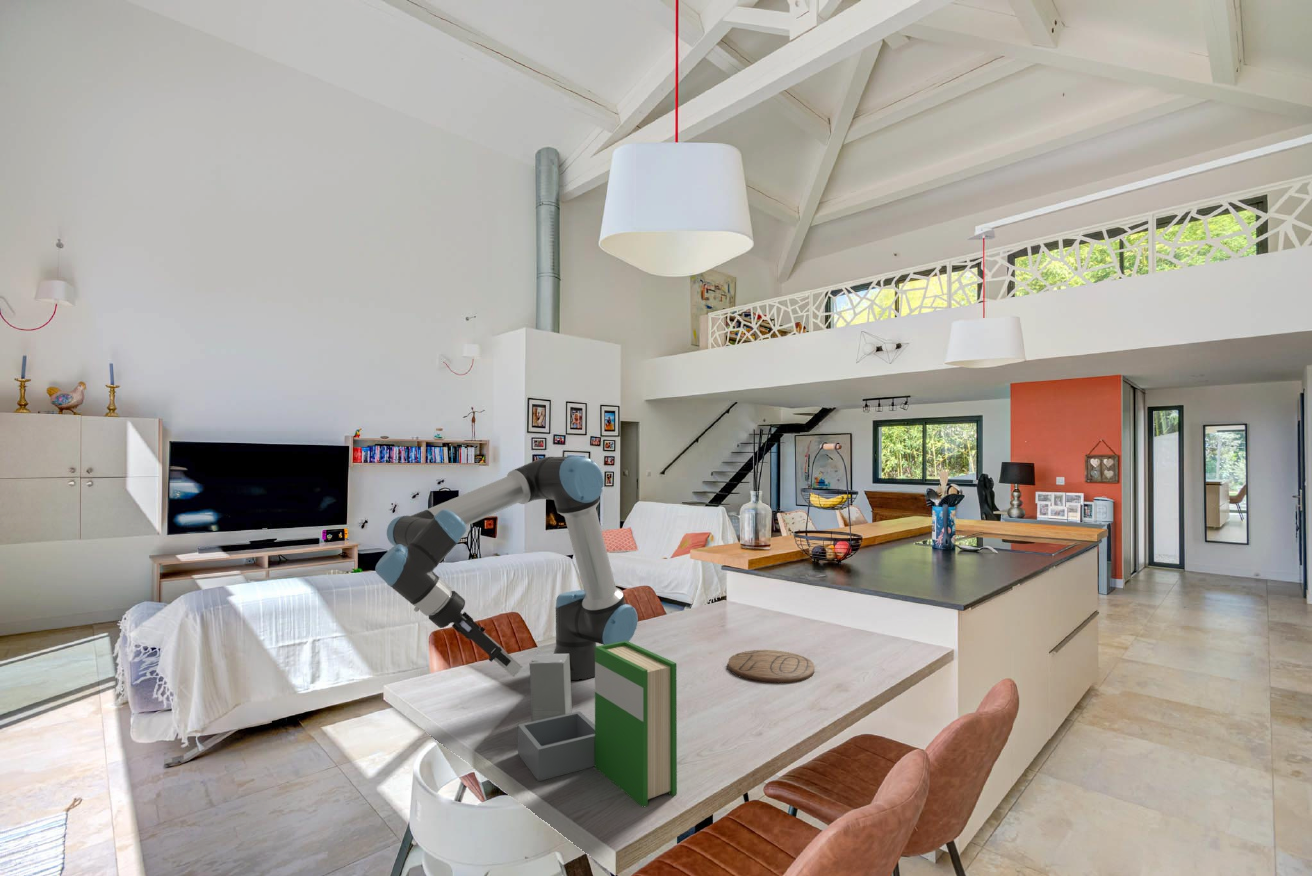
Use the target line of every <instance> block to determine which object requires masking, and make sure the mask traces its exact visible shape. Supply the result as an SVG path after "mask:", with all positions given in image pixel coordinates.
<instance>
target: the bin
mask: <svg viewBox="0 0 1312 876" xmlns="http://www.w3.org/2000/svg"><path fill="white" fill-rule="evenodd" d="M517 755H518V756H519V757H520V759H521V760H522V761H523V763H524V764H525V765H526V767H527V768H528V770H529V771H530V772H531V774H532V775H533V777H534V778H535V779H536V781H537V782H541V781H545V780H549V779H551V778H556V777H560V776H564V775H567V774H571V773H575V772H577V771H581V770H586V769H590V768H592V767H595V723H593V721H591V720H590V719H589V718H588V717H587V716H586V715H585V714H583V712H581V711H574V712H572V713H569V714H565V715H560V716H556V717H551V718H546V719H542V720H537V721H533V722H532V721H528V722H524V723H520V724H518V725H517Z"/></svg>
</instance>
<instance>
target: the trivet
mask: <svg viewBox="0 0 1312 876" xmlns="http://www.w3.org/2000/svg"><path fill="white" fill-rule="evenodd" d="M727 664H728V665H727V666H728V667H729V668H728V669H730V670H729V671H730V673H732V672H733V673H732V674H734V675H735V674H736V675H735V676H737V677H739V676H740V677H739V678H742V679H745V680H748V681H752V682H759V683H764V684H791V683H799V682H803V681H806V680H808V679H810V678H812V677H813V675H814V674H815V664H814V662H813V661H812V660H811V659H809V658H807V657H805V656H804V655H800V654H798V653H794V652H789V651H783V650H774V649H754V650H747V651H746V650H745V651H742V652H738V653H736V654H733V655H731V656H730V657H729V658H728V662H727Z"/></svg>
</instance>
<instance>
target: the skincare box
mask: <svg viewBox="0 0 1312 876" xmlns="http://www.w3.org/2000/svg"><path fill="white" fill-rule="evenodd" d="M529 681H530V685H529V687H530V707H531V708H530V710H531V711H530V712H531V722H533V721H537V720H542V719H546V718H551V717H556V716H560V715H565V714H569V713H573V708H572V706H573V705H572V686H571V681H572V680H570V658H569V654H553V653H537V654H536V655H535V656H534V657H533V659H532V660H531V661H530V662H529Z"/></svg>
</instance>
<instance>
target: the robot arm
mask: <svg viewBox="0 0 1312 876" xmlns="http://www.w3.org/2000/svg"><path fill="white" fill-rule="evenodd" d="M604 482H605V481H604V476H603V472H602V470H601V468H600V467H599V465H598V464H597V463H596V462H595V461H593V460H592V459H590V458H588V457H584V456H578V455H571V456H546V457H543V458H539V459H536V460H533V461H531V462H529V463H527V464H524V465H522V466H519V467H517V468H514V469H512V470H510V471H508V473H507V474H506V476H505V477H503V478H500V479H498V480H495V481H492V482H490V483H489V484H485V485H483V486H481V487H478V488H475V489H473V490H470V491H468V492H466V493H463V494H461V495H459V496H457V497H454V498H451V499H449V500H447V501H444V502H441V503H439V504H437V505H434V506H432V507H429V508H427V509H425V510H423V511H420V512H416V513H415V514H412V515H401V516H397V517H395V518H393V519H391V521H390V522H389V524H388V526H387V528H386V537H387V540H388V542H389V543H390V544H391V545H392V547H391V548H390V549H389V550H388V551H387V552H386V553H384V554H383V555H382V557H381V558H380V559H379V560H378V562H377V563H376V565H375V573H376V574H377V575H378V576H379V577H380V578H381V579H382V580H383V581H384V583H386V585H387V586H389V587H391V589H393V590H394V591H396V592H397V593H398V594H399V595H400V596H402V597H403V598H404V599H405V600H406V601H407V602H409V603H410V604H411V605H413V606H414V608H413V611H414V612H416V613H418V612H419V611H420V612H421V613H422V614H423V615H424V616H427V617H428V619H429V620H430V621H431V622H432V623H433V624H434V625H435V626H437V628H440V629H443V628H446V627H448V626H449V625H450V624H451V627H452V628H453V629H454V630H455V631H456V632H457V633H459V634H461V635H463V636H464V638H466V639H467V640H469V641H473V642H474V644H476V646H478V647H479V648H480V649H481V650H483V651H484V653H486V654H487V655H488V656H489V658H488V660H489V662H493V661H494V662H496V663H497V664H498V665H499V666H500V667H501V668H502V669H504V670H505V671H506V672H508V673H509V674H510V675H511V676H512V677H513V678H514V677H516V675H517V674H518V673H519V672H520V671H521V669H522V668H523V665H521V664H520V663H519V662H518V661H517V660H516V659H514V658H513V656H511V655H510V654H509V653H508V652H507V651H506V650H505V649H504V648H503V647H502V646H501V645H500V644H499V643H497V642H496V641H495V640H494V639H493V638H492V637H491V636H490V635H488V634H487V633H486V632H485V631H486V628H485V627H483V626H480V625H478V624H477V623H476V622H475V621H474V618H473V617H472V616H470V615H469V614H468V613H467V612H466V611H463V613H462V610H464V609H465V605H466V600H465V598H463V597H462V596H461V595H460V594H459V593H458V592H457V591H455V590H452V589H453V588H452V586H451V585H449V584H448V583H447V582H446V581H445V580H443V579H442V578H441V577H440V576H439V575H437V574H436V573H435V572H434V570H435V569H436V568H437V567H438V566H439V564H441V562H442V561H443V560H444V559H445V557H446V556H447V555H448V554H450V552H451V551H452V550H453V549H454V547H456V545H457V544H459V542H460V540H462V538H463V536H464V535H465V534H466V532H467V526H469V525H471V524H473V523H476V522H479V521H481V520H483V519H485V518H487V517H490V516H492V515H493V514H494V515H495V514H496V513H498V512H500V511H502V510H505V509H508V508H509V507H512V506H514V505H516V504H519V505H520V504H521V505H525V504H528V503H530V502H533V501H536V500H552V501H554V505H555V508H556V512H557V514H560V515H561V516H563V517H564V520H565V524H566V527H567V531H568V535H569V538H570V542H571V546H572V549H573V553H574V556H575V561H576V565H577V569H578V573H579V576H580V580H581V584H582V588H583V589H581V590H573V591H572V590H571V591H566V592H562V593H560V594H558V595H557V596H556V599H555V601H556V602H555V607H554V609H555V647H554V650H553V653H552V654H569V658H570V680H571V681H580V680H579V679H582V680H587V678H588V679H591V678H595V647H596V646H598V645H597V644H601V645H606V644H612V643H617V642H622V641H628V642H630V641H631V640H632V638H633V637H634V634H635V633H636V632H635V631H636V630H637V626H638V621H639V620H638V619H639V618H638V617H639V616H638V613H637V610H636V608H635V607H633V606H632V605H630V604H628V603H627V602H626V600H625V596H624V593H623V591H622V589H620V588H618V587H616V583H615V582H616V581H615V579H614V575H613V571H612V566H611V562H610V558H609V555H608V550H607V546H606V543H605V539H604V535H603V531H602V526H601V523H600V520H599V515H598V512H597V507H598V505H599V504H600V502H601V501H600V496H601V495H602V492H603V487H604V485H605V484H604ZM452 623H453V624H452Z"/></svg>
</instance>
